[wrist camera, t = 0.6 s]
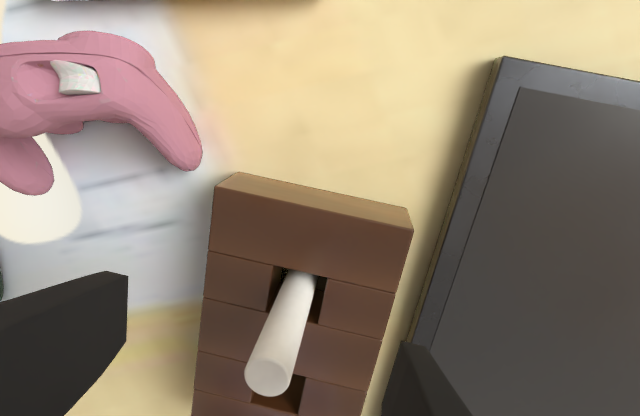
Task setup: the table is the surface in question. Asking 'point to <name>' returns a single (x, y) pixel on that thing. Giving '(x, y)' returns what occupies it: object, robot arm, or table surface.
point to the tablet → (542, 249)
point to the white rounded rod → (281, 336)
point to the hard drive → (69, 0)
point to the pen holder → (326, 307)
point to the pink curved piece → (84, 102)
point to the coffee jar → (1, 286)
